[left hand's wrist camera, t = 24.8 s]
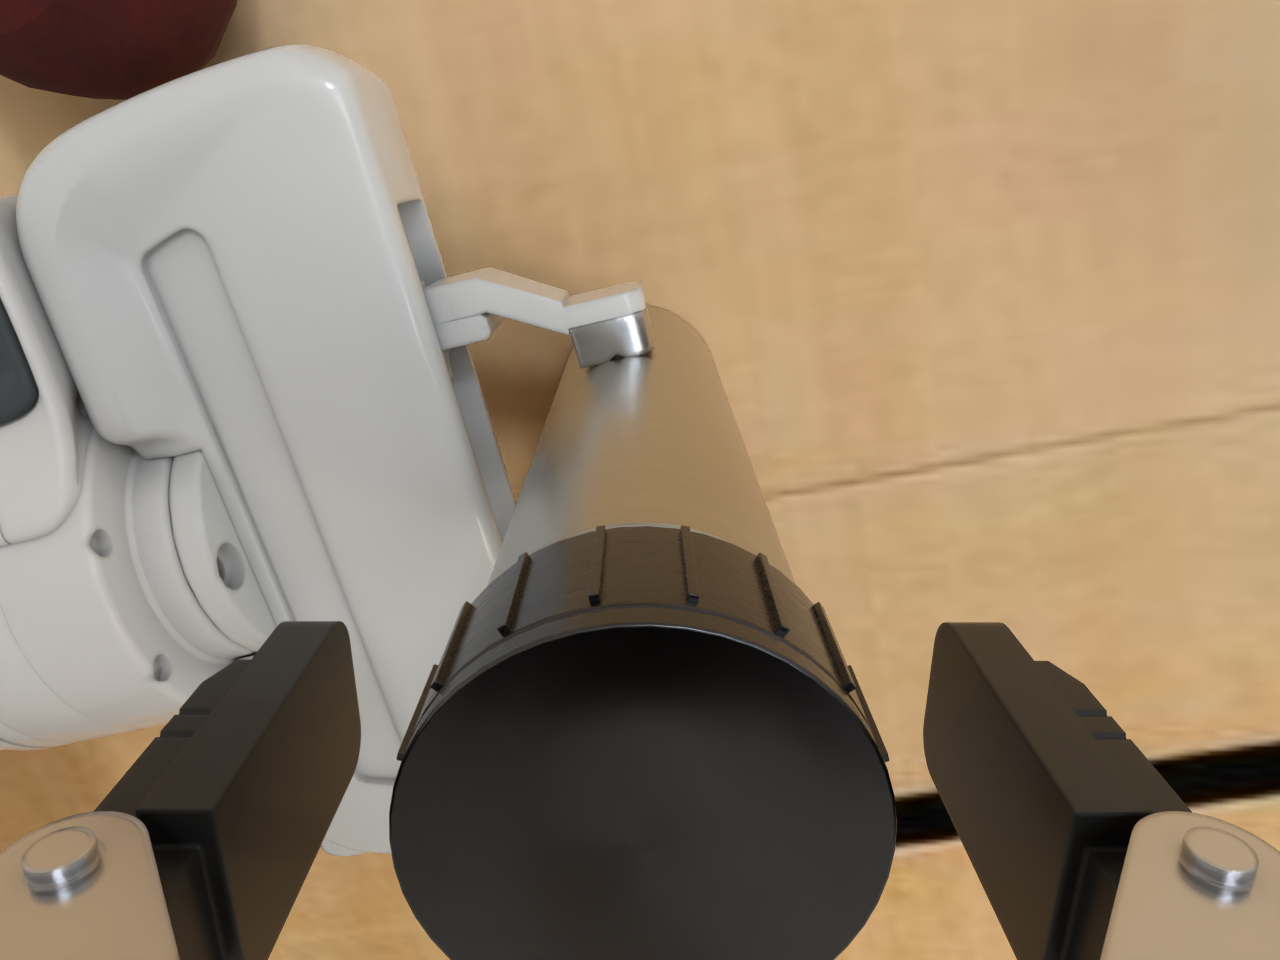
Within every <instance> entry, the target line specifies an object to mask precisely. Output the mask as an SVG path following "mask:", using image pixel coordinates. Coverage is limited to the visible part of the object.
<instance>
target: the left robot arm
mask: <svg viewBox="0 0 1280 960" xmlns="http://www.w3.org/2000/svg"><path fill="white" fill-rule="evenodd" d="M923 740H924V751H925V757H926V762H927V766H928V770H929V773H930V775H931V778H932V780H933V782H934V784H935V786H936V788H937V790H938V792H939V795H940V797H941V799H942V801H943V803H944V805H945V807H946V809H947V812H948V814H949V816H950V818H951V820H952V822H953V824H954V826H955V829H956V831H957V833H958V835H959V837H960V839H961V841H962V843H963V846H964V848H965V850H966V852H967V854H968V856H969V858H970V860H971V862H972V865H973V867H974V869H975V871H976V873H977V875H978V877H979V879H980V882H981V884H982V886H983V888H984V890H985V892H986V894H987V896H988V899H989V901H990V903H991V905H992V907H993V909H994V911H995V913H996V916H997V918H998V920H999V922H1000V924H1001V926H1002V928H1003V930H1004V933H1005V935H1006V937H1007V939H1008V941H1009V943H1010V945H1011V947H1012V950H1013V952H1014V954H1015V956H1016V958H1017V960H1280V852H1279V851H1278V850H1277V849H1275V848H1274V847H1272V846H1271V845H1270V844H1268V843H1267V842H1265V841H1264V840H1262V839H1261V838H1259V837H1257V836H1255V835H1254V834H1252V833H1250V832H1248V831H1246V830H1244V829H1242V828H1240V827H1238V826H1236V825H1233V824H1230V823H1228V822H1225V821H1223V820H1220V819H1216V818H1213V817H1210V816H1206V815H1201V814H1197V813H1192V812H1191V810H1190V809H1189V808H1188V807H1187V806H1186V804H1185V803H1184V802H1183V801H1182V800H1181V799H1180V797H1179V796H1178V795H1177V794H1176V793H1175V791H1174V790H1173V789H1172V788H1171V787H1170V786H1169V784H1168V783H1167V782H1166V781H1165V780H1164V778H1163V777H1162V776H1161V775H1160V774H1159V772H1158V771H1157V770H1156V769H1155V768H1154V767H1153V765H1152V764H1151V763H1150V762H1149V761H1148V759H1147V758H1146V757H1145V756H1144V755H1143V754H1142V752H1141V751H1140V750H1139V749H1138V748H1137V746H1136V745H1135V744H1134V743H1133V742H1132V741H1131V740H1127V739H1126V733H1125V732H1124V731H1123V730H1122V729H1121V727H1120V726H1119V725H1118V724H1117V723H1116V722H1115V720H1114V719H1113V718H1112V717H1107V711H1106V710H1105V709H1104V707H1103V706H1102V705H1101V704H1100V703H1099V701H1098V700H1097V699H1096V698H1095V697H1094V696H1093V694H1092V693H1091V692H1090V691H1089V690H1088V688H1087V687H1086V686H1085V685H1084V684H1083V683H1081V682H1080V681H1078V680H1077V679H1075V678H1074V677H1072V676H1070V675H1069V674H1067V673H1066V672H1064V671H1063V670H1061V669H1060V668H1058V667H1056V666H1055V665H1053V664H1052V663H1050V662H1049V661H1034V660H1033V659H1032V657H1031V656H1030V655H1029V654H1028V652H1027V651H1026V650H1025V649H1024V647H1023V646H1022V645H1021V643H1020V642H1019V641H1018V640H1017V638H1016V637H1015V636H1014V635H1013V633H1012V632H1011V631H1010V629H1009V628H1008V627H1007V626H1006V625H1005V624H1003V623H942V624H941V625H940V626H939V628H938V630H937V633H936V637H935V642H934V650H933V657H932V665H931V673H930V680H929V688H928V695H927V703H926V711H925V718H924V728H923ZM360 745H361V721H360V713H359V705H358V698H357V690H356V682H355V674H354V667H353V659H352V651H351V643H350V637H349V633H348V630H347V627H346V625H345V624H344V623H343V622H341V621H284V622H281V623H280V624H279V625H278V626H277V627H276V628H275V630H274V631H273V632H272V633H271V635H270V636H269V637H268V639H267V640H266V641H265V642H264V644H263V645H262V646H261V648H260V649H259V650H258V651H257V653H256V654H255V655H254V657H253V658H252V659H251V660H236V661H234V662H233V663H231V664H230V665H228V666H226V667H225V668H223V669H222V670H220V671H219V672H217V673H216V674H214V675H213V676H211V677H209V678H208V679H206V680H205V681H203V682H202V683H201V684H200V685H199V686H198V688H197V689H196V690H195V691H194V692H193V694H192V695H191V696H190V697H189V698H188V699H187V701H186V702H185V703H184V704H183V705H182V707H181V708H180V709H179V715H174V716H173V717H172V719H171V720H170V721H169V722H168V723H167V725H166V726H165V727H164V728H163V729H162V731H161V735H160V738H155V739H154V740H153V741H152V743H151V744H150V745H149V746H148V747H147V749H146V750H145V751H144V752H143V753H142V754H141V756H140V757H139V758H138V759H137V760H136V762H135V763H134V764H133V765H132V766H131V768H130V769H129V770H128V771H127V772H126V774H125V775H124V776H123V777H122V778H121V780H120V781H119V782H118V783H117V784H116V786H115V787H114V788H113V789H112V790H111V792H110V793H109V794H108V795H107V796H106V798H105V799H104V800H103V801H102V802H101V804H100V805H99V806H98V807H97V808H96V810H95V811H94V812H89V813H83V814H79V815H74V816H70V817H67V818H64V819H60V820H57V821H55V822H52V823H50V824H47V825H44V826H42V827H40V828H38V829H36V830H34V831H32V832H30V833H28V834H26V835H25V836H23V837H21V838H19V839H18V840H16V841H15V842H13V843H12V844H10V845H9V846H8V847H6V848H5V849H3V850H2V851H1V852H0V960H268V958H269V956H270V954H271V951H272V949H273V947H274V945H275V943H276V941H277V939H278V936H279V934H280V932H281V930H282V928H283V926H284V923H285V921H286V919H287V917H288V915H289V913H290V911H291V908H292V906H293V904H294V902H295V900H296V898H297V895H298V893H299V891H300V889H301V887H302V885H303V883H304V880H305V878H306V876H307V874H308V872H309V870H310V867H311V865H312V863H313V861H314V859H315V857H316V855H317V852H318V850H319V848H320V846H321V844H322V842H323V840H324V837H325V835H326V833H327V831H328V829H329V827H330V824H331V822H332V820H333V818H334V816H335V814H336V812H337V809H338V807H339V805H340V803H341V801H342V799H343V796H344V794H345V792H346V790H347V788H348V786H349V784H350V781H351V779H352V777H353V775H354V772H355V770H356V766H357V763H358V758H359V753H360Z"/></svg>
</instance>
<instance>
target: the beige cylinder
mask: <svg viewBox="0 0 1280 960" xmlns="http://www.w3.org/2000/svg"><path fill="white" fill-rule="evenodd" d="M647 309H648V314H649V318H650V323H651V328H652V333H653V337H654V345H655V347H654V349H653V350H651V351H649V352H648V353H645V354H641V355H638V356H634V357H623V356H621V355H618V354H615V355H614V356H613V358H612V359H611V360H610V361H608V362H605V363H602V364H599V365H595V366H590V367H586V368H580V365H579V361H578V358H577V354H576V351H575V347H574V346H573V348H572V350H571V352H570V355H569V358H568V360H567V363H566V366H565V369H564V372H563V374H562V377H561V380H560V383H559V386H558V389H557V391H556V394H555V397H554V400H553V403H552V405H551V408H550V411H549V414H548V417H547V419H546V422H545V425H544V428H543V431H542V433H541V436H540V439H539V442H538V445H537V448H536V450H535V453H534V456H533V459H532V462H531V464H530V467H529V470H528V473H527V476H526V478H525V481H524V484H523V487H522V490H521V492H520V495H519V498H518V501H517V504H516V507H515V509H514V512H513V515H512V518H511V521H510V523H509V526H508V529H507V532H506V535H505V537H504V540H503V543H502V546H501V549H500V551H499V554H498V557H497V560H496V563H495V566H494V568H493V571H492V574H491V577H490V580H489V582H488V585H489V584H490V583H491V582H492V581H493V580H494V579H496V578H497V577H498V576H500V575H501V574H502V573H503V572H505V571H506V570H507V569H508V568H510V567H511V566H512V565H514V564H515V563H517V561H518V557H519V555H521V554H523V553H525V552H527V553H528V555H531V554H532V553H534V552H536V551H537V550H540V549H542V548H544V547H547V546H549V545H551V544H554V543H556V542H558V541H561V540H563V539H567V538H570V537H574V536H577V535H581V534H584V533H588V532H592V531H596V527H597V526H603V525H605V527H606V529H611V528H617V527H636V526H653V527H665V528H677V529H680V528H681V526H688V527H690V531H691V532H696V533H701V534H705V535H708V536H711V537H714V538H717V539H720V540H723V541H726V542H729V543H732V544H734V545H736V546H738V547H740V548H742V549H744V550H746V551H748V552H750V553H752V554H754V555H756V556H757V555H758V554H759V553H762V554H764V555H765V556H767V559H768V562H769V564H770V565H772V566H773V567H775V568H776V569H778V570H779V571H781V572H782V573H783V574H784V575H785V576H786V577H787V578H788V579H790V580H791V581H792V582H793V583H794V584H795V581H794V578H793V576H792V573H791V570H790V568H789V565H788V562H787V559H786V557H785V554H784V551H783V549H782V546H781V543H780V540H779V538H778V535H777V532H776V529H775V527H774V524H773V521H772V519H771V516H770V513H769V510H768V508H767V505H766V502H765V500H764V497H763V494H762V491H761V489H760V486H759V483H758V480H757V478H756V475H755V472H754V470H753V467H752V464H751V461H750V459H749V456H748V453H747V450H746V448H745V445H744V442H743V440H742V437H741V434H740V431H739V429H738V426H737V423H736V421H735V418H734V415H733V412H732V410H731V407H730V404H729V401H728V399H727V396H726V393H725V391H724V388H723V385H722V382H721V380H720V377H719V374H718V372H717V369H716V366H715V363H714V361H713V358H712V355H711V352H710V350H709V348H708V346H707V344H706V343H705V341H704V339H703V338H702V336H701V335H700V334H699V333H698V332H697V330H696V329H695V328H694V327H693V326H692V325H690V324H689V323H688V322H687V321H685V320H684V319H682V318H681V317H679V316H678V315H676V314H674V313H672V312H670V311H667V310H664V309H661V308H656V307H651V306H647ZM488 585H487V586H488ZM795 585H796V584H795Z"/></svg>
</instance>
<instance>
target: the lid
mask: <svg viewBox="0 0 1280 960" xmlns="http://www.w3.org/2000/svg"><path fill="white" fill-rule="evenodd" d="M396 759H397V760H398V761H401V764H400V767H399V770H398V773H397V776H396V779H395V782H394V785H393V791H392V797H391V804H390V810H389V841H390V847H391V853H392V859H393V864H394V869H395V872H396V875H397V878H398V881H399V884H400V887H401V889H402V892H403V894H404V896H405V898H406V900H407V902H408V904H409V906H410V908H411V910H412V912H413V914H414V916H415V917H416V919H417V920H418V922H419V923H420V924H421V926H422V927H423V929H424V930H425V931H426V933H427V934H428V936H429V937H430V938H431V940H432V941H433V942H434V943H435V944H436V945H437V946H438V947H439V948H440V949H441V950H442V951H443V952H444V953H445V954H446V956H447V957H448V958H449V959H450V960H834V959H835V958H836V957H837V956H838V955H839V954H840V953H841V952H842V951H843V950H844V949H845V948H846V947H847V946H848V945H849V944H850V943H851V941H852V940H853V939H854V938H855V936H856V935H857V934H858V933H859V931H860V930H861V929H862V928H863V926H864V925H865V923H866V922H867V920H868V918H869V917H870V915H871V913H872V912H873V910H874V908H875V907H876V905H877V903H878V901H879V899H880V896H881V894H882V892H883V889H884V887H885V884H886V882H887V879H888V877H889V872H890V868H891V864H892V860H893V856H894V852H895V841H896V828H897V820H896V808H895V797H894V793H893V789H892V785H891V781H890V777H889V773H888V770H887V767H886V765H885V762H887V761H889V757H888V753H887V751H886V748H885V746H884V744H883V741H882V739H881V736H880V734H879V732H878V729H877V727H876V724H875V722H874V720H873V717H872V715H871V712H870V710H869V708H868V705H867V703H866V700H865V698H864V696H863V693H862V691H861V688H860V686H859V684H858V681H857V679H856V676H855V674H854V672H853V669H852V667H851V665H849V666H847V664H846V662H845V659H844V657H843V654H842V652H841V649H840V647H839V644H838V642H837V640H836V637H835V635H834V632H833V630H832V627H831V625H830V623H829V620H828V618H827V615H826V613H825V610H824V608H823V606H822V605H821V604H820V602H818V603H816V604H815V605H814V604H813V603H812V602H811V601H810V600H809V599H808V598H807V596H806V595H805V594H804V593H803V592H802V591H801V589H800V588H799V587H798V586H796V585H795V584H794V583H793V582H792V581H791V580H790V579H788V578H787V577H786V576H785V575H784V574H783V573H782V572H781V571H779V570H778V569H776V568H775V567H773V566H772V565H770V564H769V562H768V559H767V556H765V555H764V554H762V553H759V554H758V555H757V556H756V555H754V554H752V553H750V552H748V551H746V550H744V549H742V548H740V547H738V546H736V545H734V544H732V543H729V542H726V541H723V540H720V539H717V538H714V537H711V536H708V535H705V534H701V533H696V532H691V531H690V527H688V526H681V528H680V529H677V528H665V527H653V526H636V527H617V528H611V529H606V527H605V525H603V526H597V527H596V531H592V532H588V533H584V534H581V535H577V536H574V537H570V538H567V539H563V540H561V541H558V542H556V543H554V544H551V545H549V546H547V547H544V548H542V549H540V550H537V551H536V552H534V553H532V554H531V555H528V553H527V552H525V553H523V554H521V555H519V557H518V561H517V563H515V564H514V565H512V566H511V567H510V568H508V569H507V570H506V571H505V572H503V573H502V574H501V575H500V576H498V577H497V578H496V579H494V580H493V581H492V582H491V583H490V584H489V585H488V586H487V587H486V588H485V589H484V590H483V591H482V592H481V593H480V595H479V596H478V597H477V598H476V599H475V600H474V601H473V602H472V604H470V603H469V602H467V601H466V602H465V603H464V604H463V606H462V607H461V610H460V612H459V615H458V617H457V620H456V623H455V625H454V628H453V630H452V633H451V635H450V638H449V640H448V643H447V645H446V648H445V650H444V653H443V655H442V658H441V660H440V663H439V665H435V664H434V665H433V667H432V670H431V672H430V675H429V677H428V680H427V682H426V685H425V687H424V689H423V692H422V694H421V697H420V699H419V702H418V704H417V707H416V709H415V712H414V714H413V716H412V719H411V721H410V724H409V726H408V729H407V731H406V734H405V736H404V739H403V741H402V744H401V746H400V748H399V751H398V754H397V758H396Z"/></svg>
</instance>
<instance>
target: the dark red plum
mask: <svg viewBox="0 0 1280 960" xmlns="http://www.w3.org/2000/svg"><path fill="white" fill-rule="evenodd" d="M236 4H237V0H0V75H2V76H4V77H7V78H9V79H11V80H13V81H16V82H18V83H20V84H23V85H25V86H27V87H30V88H35V89H41V90H46V91H51V92H57V93H62V94H67V95H74V96H81V97H88V98H94V99H126V100H128V99H130V98H132V97H134V96H136V95H138V94H141V93H143V92H145V91H148V90H150V89H153V88H155V87H158V86H160V85H162V84H165V83H167V82H170V81H172V80H174V79H177V78H180V77H183V76H185V75H188V74H191V73H193V72H196V71H199V70H200V69H201V68H202V67H203V66H204V65H205V64H206V63H208V62H209V61H210V60H211V59H212V58H213V57H214V55H215V53H216V51H217V48H218V46H219V44H220V41H221V39H222V37H223V35H224V32H225V30H226V28H227V25H228V23H229V21H230V18H231V16H232V14H233V12H234V9H235V7H236Z"/></svg>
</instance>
